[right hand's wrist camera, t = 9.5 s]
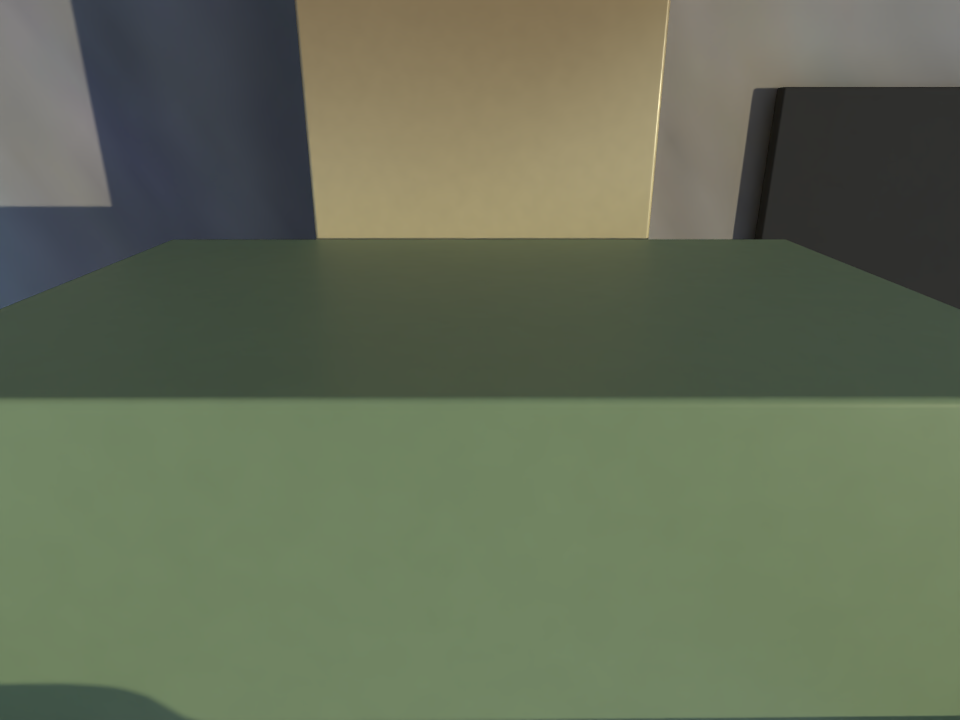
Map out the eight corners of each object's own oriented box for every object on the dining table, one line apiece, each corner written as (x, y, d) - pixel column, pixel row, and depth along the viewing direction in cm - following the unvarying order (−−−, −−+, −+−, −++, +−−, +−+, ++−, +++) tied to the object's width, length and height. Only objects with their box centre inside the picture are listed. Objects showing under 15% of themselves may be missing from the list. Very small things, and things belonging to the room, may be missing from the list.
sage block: (721, 635, 15) (916, 1052, 8) (237, 636, 15) (42, 1053, 8) (788, 238, 12) (1193, 398, 5) (170, 239, 12) (-235, 400, 5)
